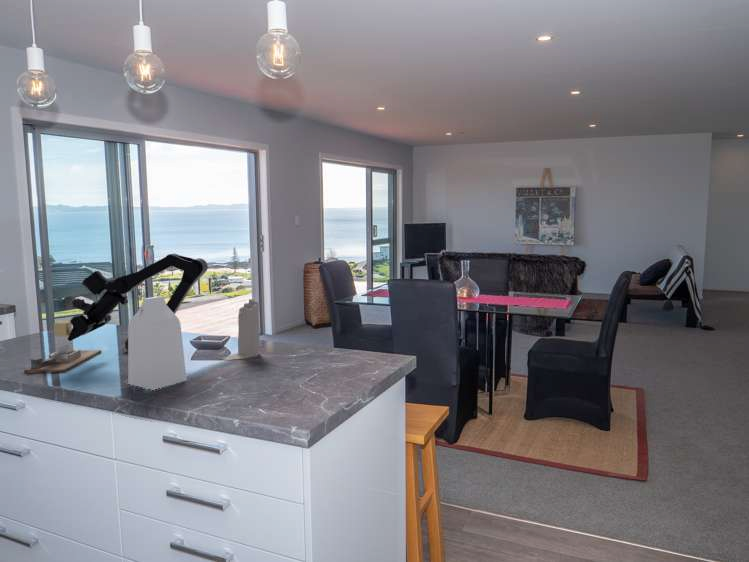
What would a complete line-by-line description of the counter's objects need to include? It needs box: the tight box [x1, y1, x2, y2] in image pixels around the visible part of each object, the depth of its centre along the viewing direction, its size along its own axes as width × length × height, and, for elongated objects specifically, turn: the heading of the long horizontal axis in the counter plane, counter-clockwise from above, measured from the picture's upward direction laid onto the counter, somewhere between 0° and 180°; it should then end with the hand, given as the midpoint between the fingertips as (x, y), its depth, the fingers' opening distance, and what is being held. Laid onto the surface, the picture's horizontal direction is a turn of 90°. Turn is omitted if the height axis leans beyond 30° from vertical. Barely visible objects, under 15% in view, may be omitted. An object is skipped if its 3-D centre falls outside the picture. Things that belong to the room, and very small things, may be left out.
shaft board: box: [23, 349, 102, 374], centre depth 196 cm, size 13×26×4 cm, turn 2°
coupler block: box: [53, 320, 74, 354], centre depth 195 cm, size 4×4×13 cm
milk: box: [127, 295, 187, 391], centre depth 171 cm, size 12×12×26 cm
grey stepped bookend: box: [221, 298, 261, 361], centre depth 202 cm, size 7×14×20 cm, turn 131°
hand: (75, 337), depth 195 cm, fingers open, 9 cm apart
